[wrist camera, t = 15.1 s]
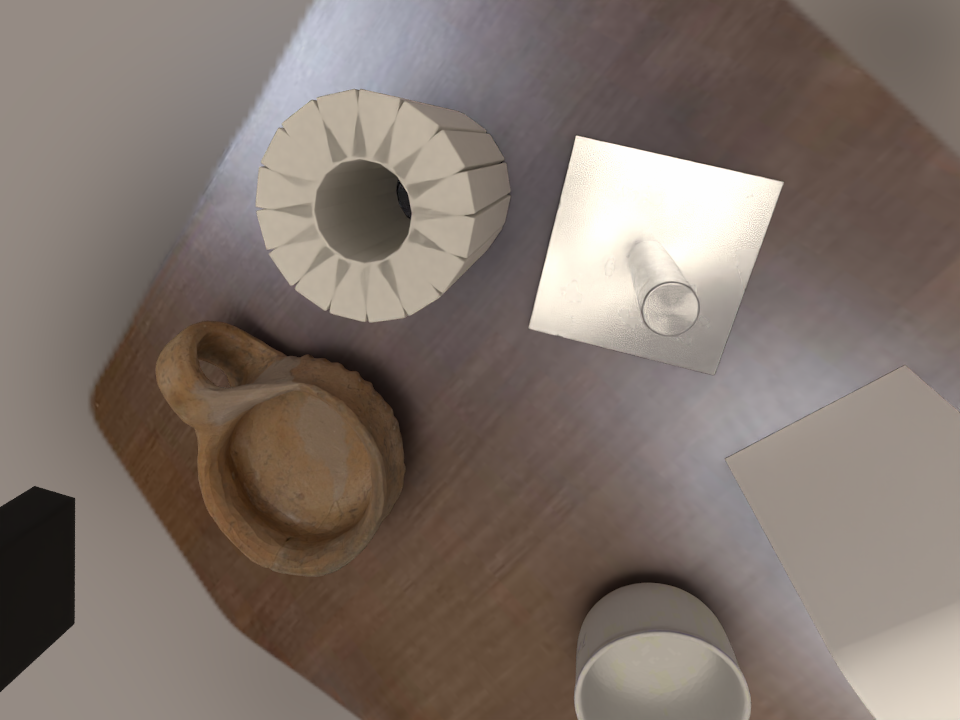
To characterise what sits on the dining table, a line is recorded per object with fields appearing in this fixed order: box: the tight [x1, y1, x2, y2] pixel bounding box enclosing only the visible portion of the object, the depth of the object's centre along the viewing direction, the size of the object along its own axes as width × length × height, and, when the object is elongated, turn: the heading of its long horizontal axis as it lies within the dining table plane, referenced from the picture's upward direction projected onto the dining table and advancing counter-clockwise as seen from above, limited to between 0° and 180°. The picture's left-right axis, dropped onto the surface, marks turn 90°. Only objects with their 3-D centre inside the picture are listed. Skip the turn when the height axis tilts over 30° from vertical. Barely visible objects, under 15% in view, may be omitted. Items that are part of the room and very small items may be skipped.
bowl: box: [156, 321, 406, 576], centre depth 44 cm, size 18×14×10 cm
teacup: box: [574, 583, 751, 720], centre depth 45 cm, size 14×11×8 cm
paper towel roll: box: [256, 89, 511, 323], centre depth 35 cm, size 10×10×13 cm
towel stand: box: [528, 135, 784, 375], centre depth 34 cm, size 12×12×14 cm
